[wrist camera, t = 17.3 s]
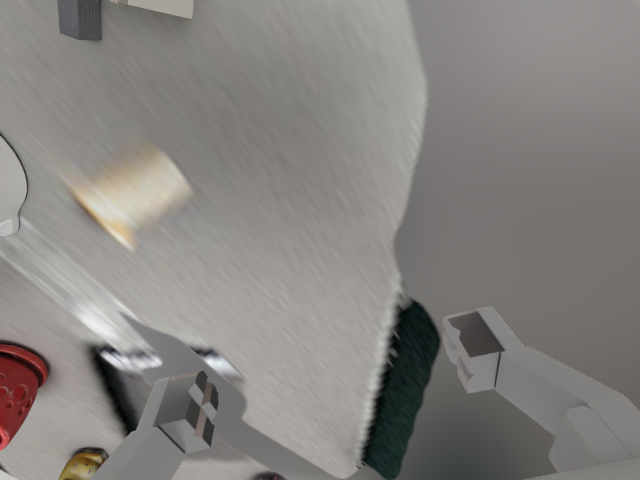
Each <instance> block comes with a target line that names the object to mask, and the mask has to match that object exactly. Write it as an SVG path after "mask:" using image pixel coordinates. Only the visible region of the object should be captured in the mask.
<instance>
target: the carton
mask: <svg viewBox="0 0 640 480" xmlns="http://www.w3.org/2000/svg"><path fill="white" fill-rule="evenodd" d="M110 1H112V2H115V3H118V4H122V5H126V6H128V5H131V6H136V7H140V8H145V9H149V10H153V11H158V12H162V13H167V14H171V15H175V16H180V17H184V18H189V19H192V16H193V7H194V0H110Z"/></svg>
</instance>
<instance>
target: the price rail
mask: <svg viewBox="0 0 640 480" xmlns="http://www.w3.org/2000/svg"><path fill="white" fill-rule="evenodd" d="M58 12H59V26H60V33H61V34H64V35H67V36H70V37H73V38H76V39H79V40H101V0H58Z"/></svg>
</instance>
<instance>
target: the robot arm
mask: <svg viewBox="0 0 640 480" xmlns="http://www.w3.org/2000/svg"><path fill="white" fill-rule="evenodd" d="M26 192H27V184H26V178H25V174H24V171H23V168H22V166H21V164H20V162H19V160H18V158H17V157H16V155H15V153H14V152H13V150H12V149H11V148H10V146H9V145H8V144H7V143H6V142H5V140H4V139H3V138H2V137H1V136H0V236H9V235H11V234H13V233H15V232H17V231H18V229H19V218H18V212H19V209H20V208H21V206H22V204H23V202H24V200H25V197H26ZM443 326H444V328H445V329H446V330H445V331H444V333H443V342H444V346H445V350H446V352H447V355H448V357H449V359H450V360H451V362H452V363H454V364H455V365H457V366H458V370H457V371H458V372H457V374H458V376H459V378H460V380H461V382H462V384H463V386H464V388H465V390H466V392H467V393H473V392H478V391H484V390H489V389H495V390H496V391H497V392H498V393H500V394H501V395H502V396H504V397H505V398H506V399H508V400H509V401H510V402H511V403H513V404H514V405H515V406H517V407H518V408H519V409H521V410H522V411H523V412H524V413H526V414H527V415H528V416H530V417H531V418H532V419H534V420H535V421H536V422H537V423H539V424H540V425H541V426H543V427H544V428H545V429H547V430H548V431H549V432H550V433H552V434H553V435H555V436H556V438H555V441H554V443H553V446H552V448H551V451H550V454H549V458H550V460H551V462H552V464H553V465H554V467H555V468H556V470H557V472H558V473H555V474H550V475H545V476H540V477H535V478H530V479H525V480H640V411H639V410H638V409H637V408H636V407H635V406H634V405H633V404H632V403H631V402H630V401H629V400H628V399H627V398H626V397H625V396H624V395H622V394H620V393H618V392H616V391H615V390H613V389H611V388H609V387H607V386H605V385H603V384H601V383H599V382H597V381H595V380H593V379H591V378H589V377H587V376H586V375H584V374H582V373H580V372H578V371H576V370H574V369H572V368H570V367H568V366H566V365H564V364H562V363H561V362H559V361H557V360H555V359H553V358H551V357H549V356H547V355H545V354H543V353H541V352H539V351H537V350H536V349H533V348H532V347H529V346H528V347H524V346H523V345H522V344H521V342H520V341H519V340H518V338H517V337H516V336H515V335H514V333H513V332H512V331H511V330H510V328H509V327H508V326H507V325H506V323H505V322H504V321H503V319H502V318H501V317H500V316H499V314H498V313H497V312H496V310H495V309H494V308H492V307H491V306H489V307H485V308H480V309H476V310H470V311H466V312H461V313H457V314H453V315H449V316H445V317H444V318H443ZM207 378H208V376H207V374H206V373H205V372H204V371H199V372H194V373H189V374H184V375H178V376H173V377H168V378H163V379H159V380H157V381H156V383H155V384H154V385H153V388H152V390H151V393H150V395H149V398H148V401H147V403H146V406H145V408H144V411H143V414H142V416H141V419H140V421H139V424H138V427H137V429H136V431H133V432H131V433H130V434H129V435H128V436H127V437H126V439H125V440H124V441H123V442H122V443H121V444H120V445H119V446H118V448H117V449H116V450H115V451H114V452H113V453H112V454H111V455H110V456H109V458H108V459H107V460H106V461H105V462H104V463H103V464H102V465H101V466H100V468H99V469H98V470H97V471H96V472H95V473H94V474H93V475H92V477H91V478H90V479H89V480H171V478H172V477H173V475H174V473H175V472H176V470H177V469H178V467H179V465H180V464H181V462H182V461H183V459H184V457H185V456H186V455H185V454H187V453H191V452H195V451H199V450H203V449H207V448H211V443H212V438H213V432H214V424H213V422H212V418H213V417H214V416H215V414H216V413H217V410H218V404H219V402H218V392H217V389H216V387H215V386H214V384H213V383H210V382H208V381H207Z"/></svg>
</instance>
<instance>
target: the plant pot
mask: <svg viewBox="0 0 640 480" xmlns="http://www.w3.org/2000/svg"><path fill="white" fill-rule="evenodd" d="M47 376H48V373H47V368H46V366H45V364H44V363H43V361H42V360H41V359H40V358H39V357H37V356H36V355H34V354H33V353H31V352H29V351H27V350H24V349H22V348H20V347H18V346H11V345H4V344H0V450H2V449H4V448H5V447H6V446H7V445H8V444H9V443H10V441H11V440H12V438H13V437H14V436H15V434H16V433H17V431H18V430H19V428H20V427H21V425H22V424H23V422H24V421H25V419H26V417H27V415H28V413H29V411H30V409H31V407H32V405H33V403H34V400H35V398H36V394H37V390H38V388H40V387H41V386H43V385H44V383H45V382H46V380H47Z"/></svg>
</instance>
